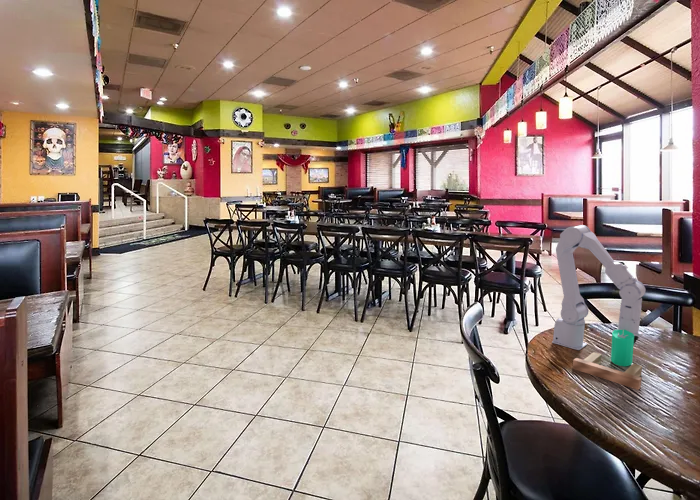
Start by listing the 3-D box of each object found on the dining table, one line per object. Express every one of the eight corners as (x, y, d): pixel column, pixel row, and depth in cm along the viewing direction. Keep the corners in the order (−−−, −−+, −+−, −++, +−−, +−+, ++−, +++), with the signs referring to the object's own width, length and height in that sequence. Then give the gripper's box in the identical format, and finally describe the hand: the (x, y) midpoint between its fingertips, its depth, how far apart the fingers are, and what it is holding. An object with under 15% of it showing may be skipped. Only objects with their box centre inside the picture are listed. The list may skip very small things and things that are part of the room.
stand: (572, 368, 132) (573, 359, 131) (586, 358, 139) (586, 350, 139) (638, 389, 119) (639, 380, 118) (649, 377, 126) (650, 368, 125)
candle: (635, 366, 132) (637, 334, 128) (615, 366, 134) (616, 335, 130) (627, 354, 138) (629, 324, 134) (607, 355, 139) (609, 325, 135)
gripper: (637, 326, 128) (632, 366, 130) (650, 315, 137) (645, 353, 139) (611, 320, 133) (607, 359, 135) (625, 310, 142) (621, 347, 145)
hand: (625, 356), depth 138 cm, fingers closed
